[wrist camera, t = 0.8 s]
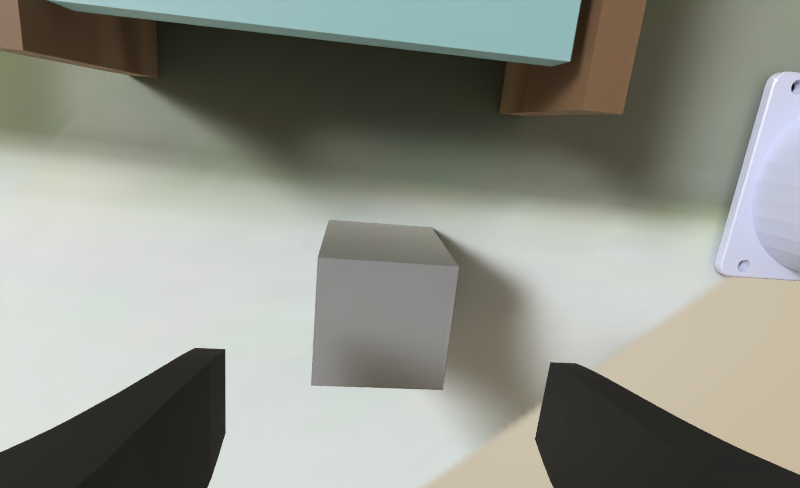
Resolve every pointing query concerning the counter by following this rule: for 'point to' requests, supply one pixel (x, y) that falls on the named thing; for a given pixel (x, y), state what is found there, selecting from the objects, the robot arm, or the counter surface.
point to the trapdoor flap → (382, 23)
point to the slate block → (382, 307)
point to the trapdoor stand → (523, 83)
